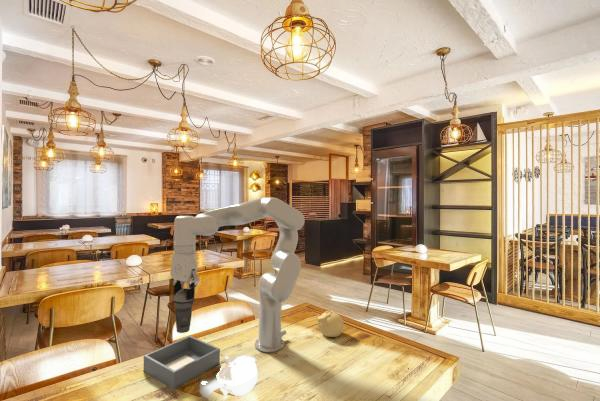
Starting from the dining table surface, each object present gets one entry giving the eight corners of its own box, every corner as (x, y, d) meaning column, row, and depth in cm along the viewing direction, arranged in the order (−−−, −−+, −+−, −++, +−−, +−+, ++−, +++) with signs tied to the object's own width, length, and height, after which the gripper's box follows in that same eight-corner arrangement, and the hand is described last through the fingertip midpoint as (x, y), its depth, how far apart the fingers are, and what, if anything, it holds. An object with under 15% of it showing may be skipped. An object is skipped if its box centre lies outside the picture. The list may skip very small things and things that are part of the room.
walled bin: (189, 349, 133) (190, 335, 133) (219, 363, 123) (219, 348, 123) (143, 371, 116) (143, 355, 116) (173, 390, 106) (174, 372, 106)
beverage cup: (186, 335, 115) (188, 280, 114) (168, 333, 116) (169, 279, 116) (197, 327, 122) (198, 275, 121) (179, 325, 123) (181, 273, 123)
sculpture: (325, 326, 160) (326, 305, 159) (347, 333, 152) (348, 311, 152) (313, 334, 150) (313, 312, 150) (335, 342, 143) (336, 318, 143)
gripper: (161, 247, 120) (161, 294, 120) (191, 253, 110) (190, 305, 111) (179, 245, 126) (178, 289, 127) (208, 250, 116) (207, 299, 117)
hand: (184, 296), depth 119 cm, fingers closed on beverage cup, 6 cm apart
